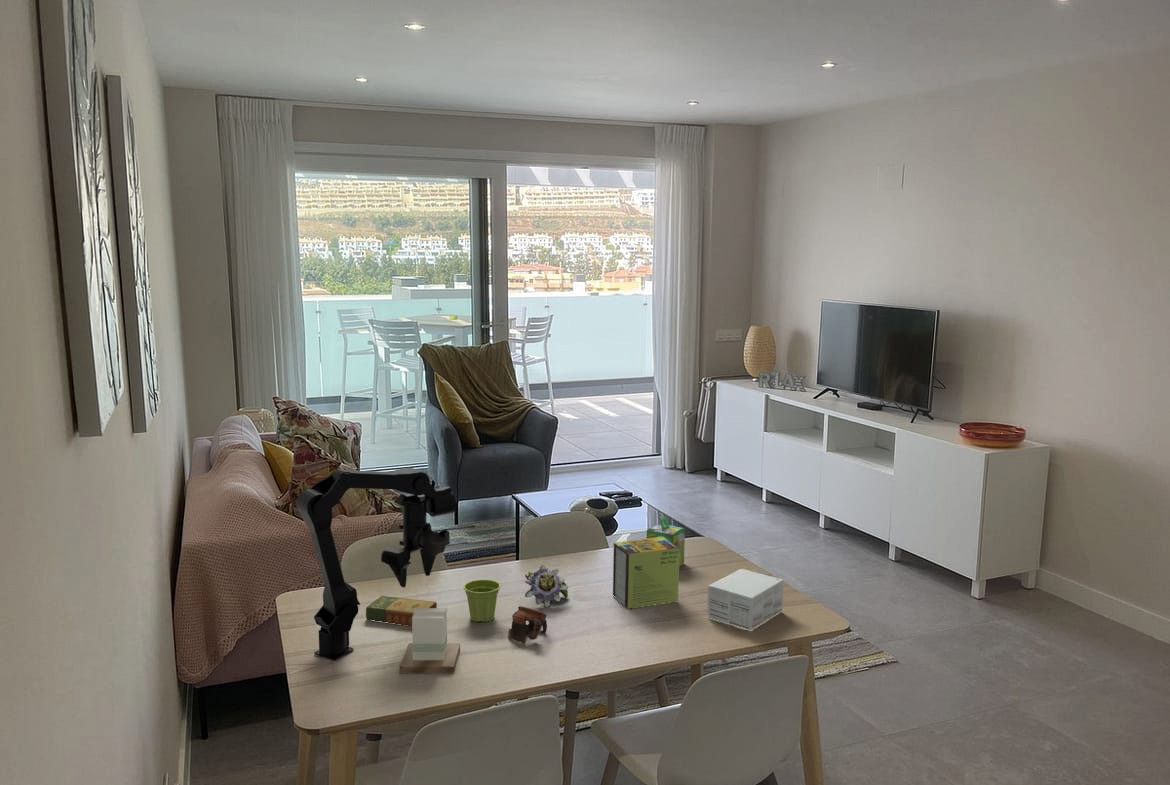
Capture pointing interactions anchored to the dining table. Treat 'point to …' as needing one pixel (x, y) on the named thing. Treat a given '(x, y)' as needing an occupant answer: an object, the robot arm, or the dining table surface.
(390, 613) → the carton
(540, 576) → the passion flower
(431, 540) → the robot arm
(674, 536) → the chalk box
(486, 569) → the dining table surface
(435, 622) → the oat carton
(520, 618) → the brown blocky piece
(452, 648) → the plinth
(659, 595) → the protein box
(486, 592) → the plant pot
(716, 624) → the dining table surface
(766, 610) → the supplement box
